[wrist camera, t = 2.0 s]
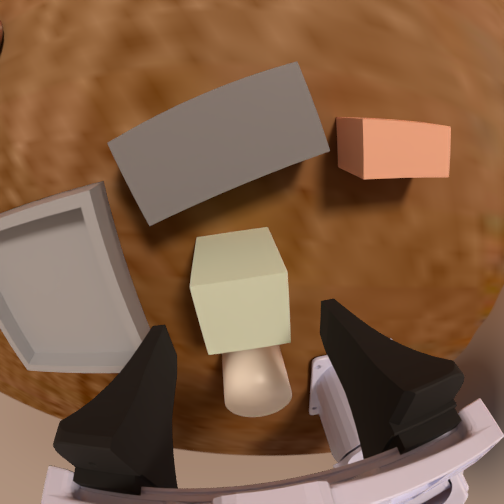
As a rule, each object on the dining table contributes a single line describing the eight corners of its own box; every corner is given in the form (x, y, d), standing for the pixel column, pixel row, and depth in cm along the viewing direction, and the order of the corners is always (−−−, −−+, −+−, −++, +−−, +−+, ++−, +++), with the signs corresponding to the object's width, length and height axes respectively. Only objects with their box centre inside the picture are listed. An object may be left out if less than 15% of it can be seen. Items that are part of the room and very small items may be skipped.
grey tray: (159, 350, 21) (155, 371, 19) (35, 354, 21) (27, 370, 19) (103, 181, 15) (89, 190, 13) (-27, 224, 15) (-43, 235, 13)
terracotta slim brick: (415, 164, 17) (448, 177, 14) (337, 166, 17) (363, 179, 14) (416, 121, 16) (450, 126, 13) (335, 117, 15) (362, 118, 12)
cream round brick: (280, 364, 24) (292, 410, 19) (226, 372, 23) (230, 420, 19) (277, 324, 21) (291, 374, 17) (216, 333, 21) (218, 385, 17)
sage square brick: (272, 286, 20) (290, 342, 15) (209, 296, 20) (208, 354, 15) (267, 226, 18) (287, 272, 13) (196, 237, 18) (189, 286, 13)
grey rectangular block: (308, 143, 16) (330, 151, 13) (162, 205, 17) (149, 226, 14) (280, 72, 14) (296, 61, 11) (129, 137, 15) (107, 143, 12)
